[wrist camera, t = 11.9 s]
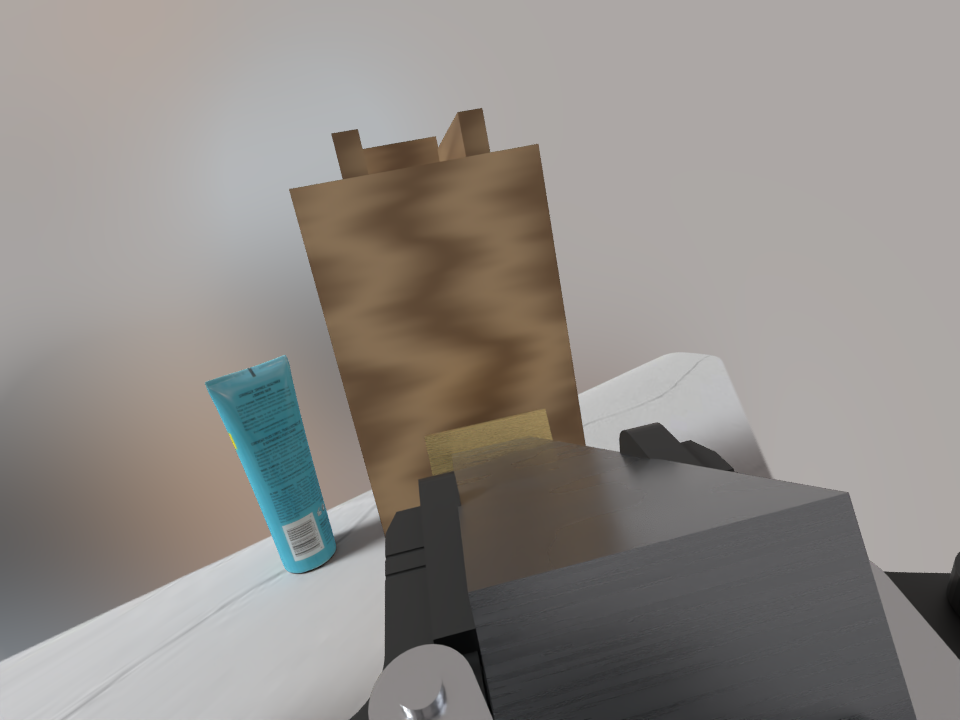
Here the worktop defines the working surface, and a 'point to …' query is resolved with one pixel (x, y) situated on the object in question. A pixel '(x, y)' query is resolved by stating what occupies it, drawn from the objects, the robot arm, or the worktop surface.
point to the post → (438, 295)
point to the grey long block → (662, 586)
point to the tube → (276, 459)
